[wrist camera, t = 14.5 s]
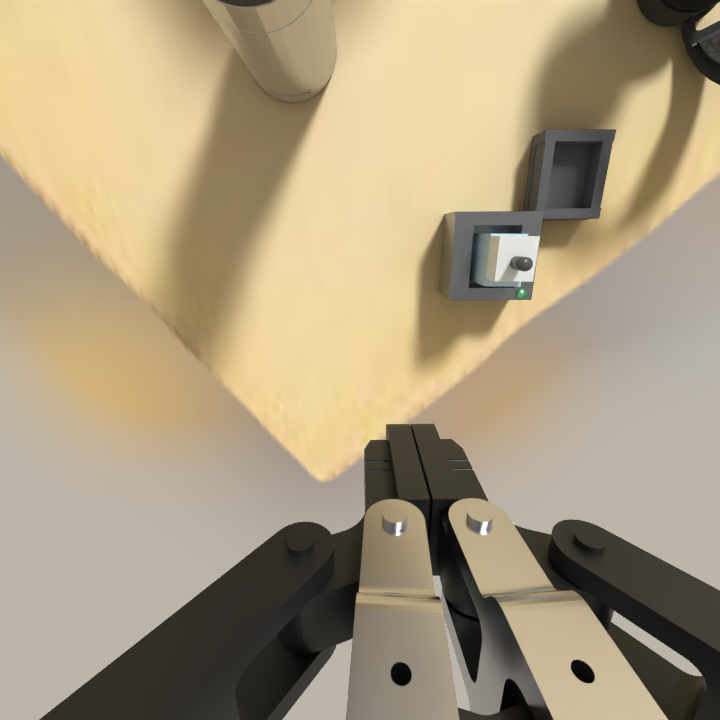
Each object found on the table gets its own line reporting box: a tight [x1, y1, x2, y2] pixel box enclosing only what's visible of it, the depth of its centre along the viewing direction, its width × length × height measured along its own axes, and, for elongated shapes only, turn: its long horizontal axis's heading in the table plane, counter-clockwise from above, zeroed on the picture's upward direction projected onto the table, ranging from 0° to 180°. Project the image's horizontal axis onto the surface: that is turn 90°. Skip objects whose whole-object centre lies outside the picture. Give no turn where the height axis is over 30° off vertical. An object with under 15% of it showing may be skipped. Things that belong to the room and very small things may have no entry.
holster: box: [523, 129, 616, 220], centre depth 40 cm, size 8×7×3 cm
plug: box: [469, 233, 540, 287], centre depth 37 cm, size 5×4×12 cm
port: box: [440, 211, 544, 300], centre depth 41 cm, size 9×9×5 cm
